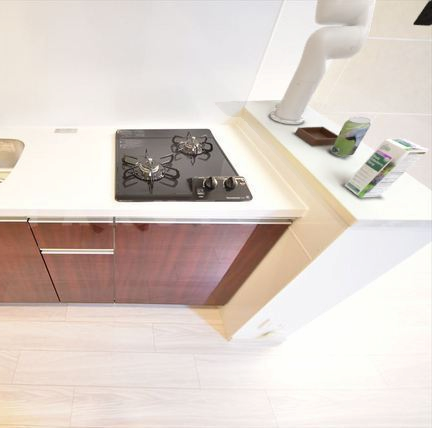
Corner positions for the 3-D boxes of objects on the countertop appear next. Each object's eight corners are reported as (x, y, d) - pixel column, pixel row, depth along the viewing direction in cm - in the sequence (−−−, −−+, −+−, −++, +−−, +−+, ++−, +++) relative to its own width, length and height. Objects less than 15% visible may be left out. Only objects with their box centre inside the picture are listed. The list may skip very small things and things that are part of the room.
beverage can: (354, 159, 76) (384, 124, 68) (330, 157, 77) (356, 122, 69) (345, 150, 80) (371, 115, 72) (321, 148, 82) (345, 114, 73)
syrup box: (342, 185, 66) (384, 138, 56) (362, 184, 66) (406, 137, 56) (359, 198, 62) (407, 150, 52) (380, 197, 62) (431, 148, 52)
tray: (294, 133, 90) (298, 127, 88) (319, 132, 90) (323, 126, 89) (311, 145, 83) (316, 139, 81) (338, 144, 83) (343, 138, 82)
